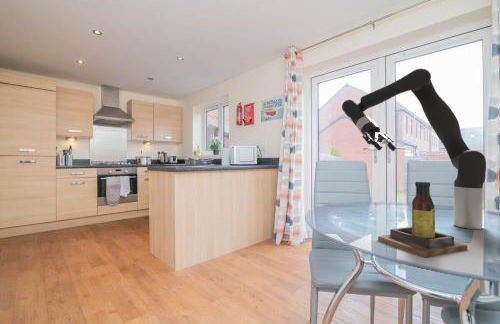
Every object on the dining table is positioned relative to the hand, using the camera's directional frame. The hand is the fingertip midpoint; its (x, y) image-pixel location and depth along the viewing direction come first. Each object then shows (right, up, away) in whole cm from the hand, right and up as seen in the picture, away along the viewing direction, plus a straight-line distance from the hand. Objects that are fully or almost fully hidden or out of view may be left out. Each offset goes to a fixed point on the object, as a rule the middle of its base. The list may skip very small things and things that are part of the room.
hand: (387, 149), depth 106 cm
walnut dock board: (-4, -34, -26) cm, 43 cm away
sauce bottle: (-4, -32, -27) cm, 42 cm away
